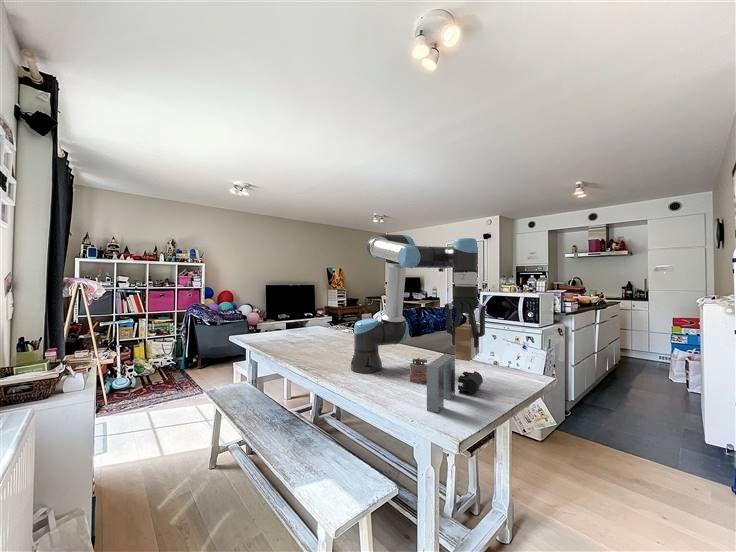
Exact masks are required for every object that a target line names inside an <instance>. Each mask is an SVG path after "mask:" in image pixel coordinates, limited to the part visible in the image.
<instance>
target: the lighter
mask: <svg viewBox="0 0 736 552" xmlns="http://www.w3.org/2000/svg"><path fill="white" fill-rule="evenodd" d="M426 363H428V360H427V358H420V357H417V358H412V362H410V363H409V382H410V383H414V384H419V385H421V384H422V385H427V365H428V364H426Z"/></svg>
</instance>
